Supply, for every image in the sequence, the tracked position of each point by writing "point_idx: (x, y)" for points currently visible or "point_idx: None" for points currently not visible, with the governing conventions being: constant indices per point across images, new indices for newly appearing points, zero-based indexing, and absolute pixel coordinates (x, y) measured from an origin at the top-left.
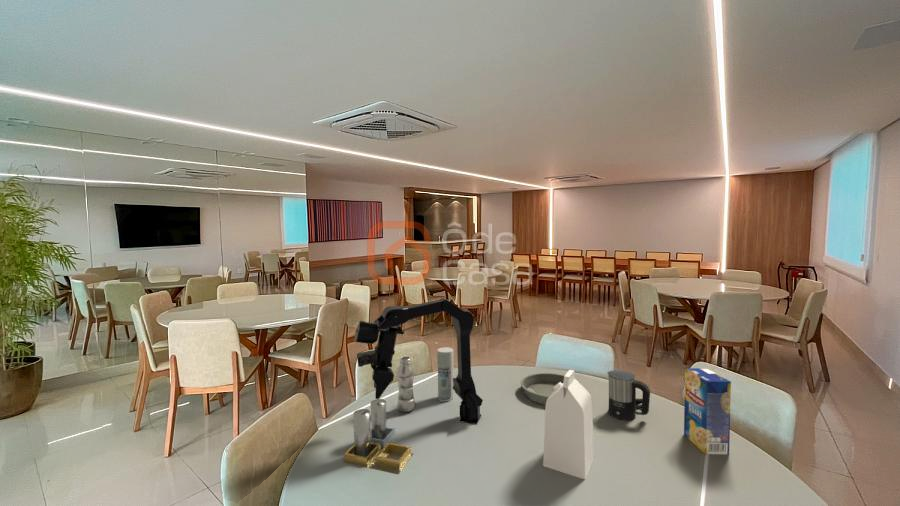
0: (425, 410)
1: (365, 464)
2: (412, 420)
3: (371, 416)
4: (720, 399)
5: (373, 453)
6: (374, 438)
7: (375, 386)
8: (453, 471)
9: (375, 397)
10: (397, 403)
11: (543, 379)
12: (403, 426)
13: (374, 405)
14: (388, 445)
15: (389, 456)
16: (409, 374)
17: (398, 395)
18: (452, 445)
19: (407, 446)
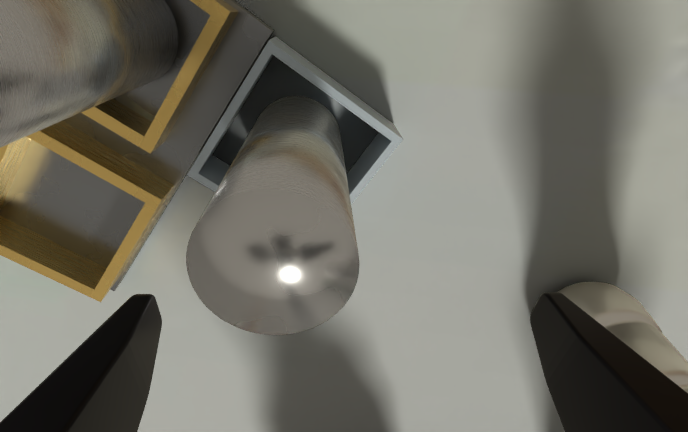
0: (519, 382)
1: None
2: (452, 320)
3: (258, 148)
4: None
5: None
6: (227, 123)
7: (543, 315)
8: (5, 393)
9: (127, 302)
10: (615, 295)
11: None
12: (411, 275)
13: (198, 226)
14: (138, 196)
15: (100, 182)
16: None
17: (646, 336)
18: (187, 421)
19: (107, 287)
